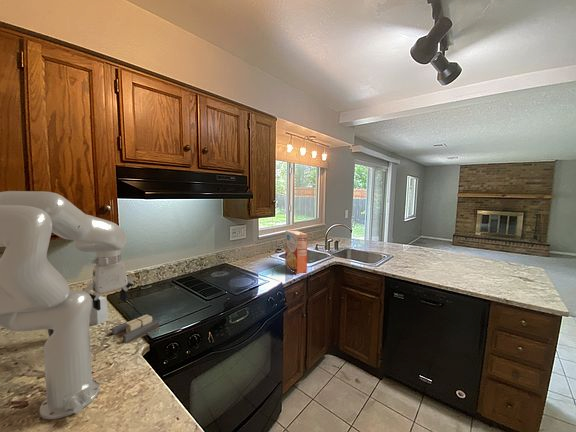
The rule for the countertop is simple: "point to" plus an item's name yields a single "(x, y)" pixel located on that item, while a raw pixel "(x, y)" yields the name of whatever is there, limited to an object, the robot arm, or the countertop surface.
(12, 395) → the countertop surface
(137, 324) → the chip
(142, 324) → the beige cube
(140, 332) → the slot block
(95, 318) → the skincare box
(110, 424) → the countertop surface
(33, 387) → the countertop surface
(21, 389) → the countertop surface
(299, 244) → the pasta box
